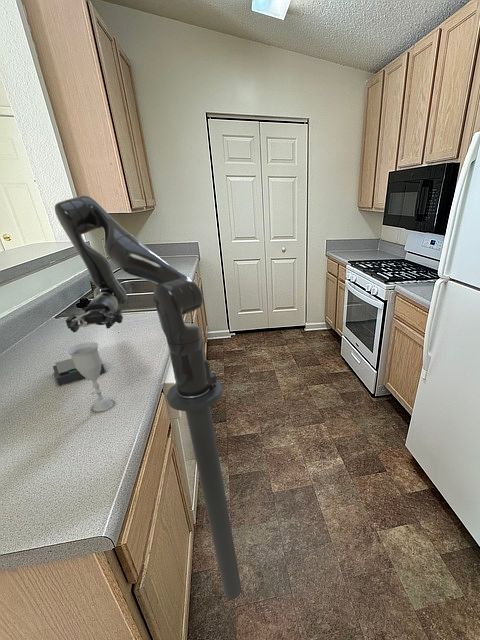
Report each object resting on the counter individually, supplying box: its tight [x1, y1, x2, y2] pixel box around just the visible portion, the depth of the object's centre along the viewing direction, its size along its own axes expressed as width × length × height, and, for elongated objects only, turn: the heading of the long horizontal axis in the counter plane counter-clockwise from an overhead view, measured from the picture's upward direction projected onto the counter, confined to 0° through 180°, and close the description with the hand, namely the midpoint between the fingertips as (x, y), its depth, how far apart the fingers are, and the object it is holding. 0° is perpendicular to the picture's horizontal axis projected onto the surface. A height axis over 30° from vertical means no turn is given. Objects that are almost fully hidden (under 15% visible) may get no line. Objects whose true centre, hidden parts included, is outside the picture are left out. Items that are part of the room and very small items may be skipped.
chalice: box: [66, 341, 114, 412], centre depth 89 cm, size 7×7×18 cm
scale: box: [52, 362, 106, 387], centre depth 110 cm, size 13×11×3 cm
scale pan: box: [54, 358, 76, 374], centre depth 110 cm, size 11×9×1 cm
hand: (90, 327), depth 93 cm, fingers open, 8 cm apart
